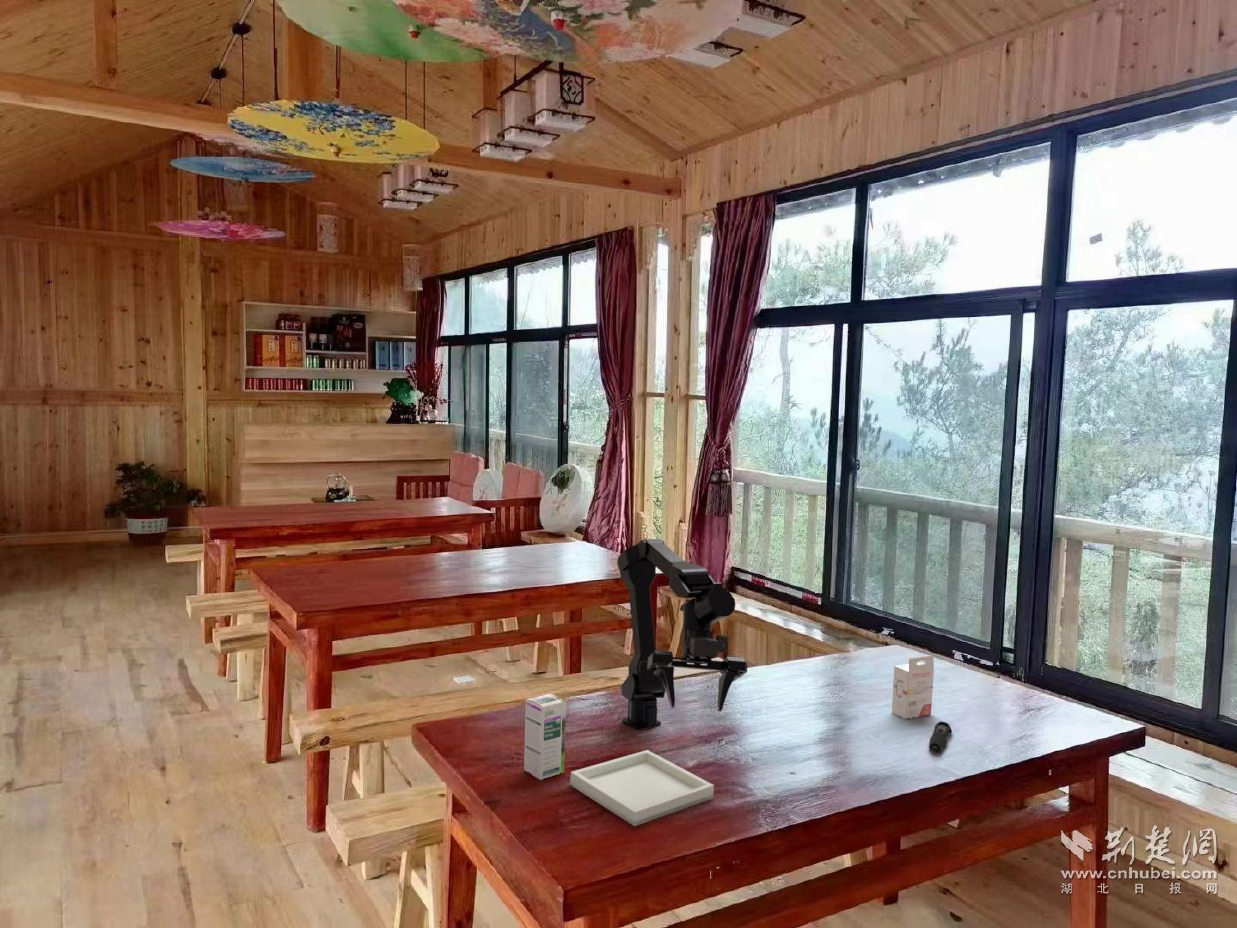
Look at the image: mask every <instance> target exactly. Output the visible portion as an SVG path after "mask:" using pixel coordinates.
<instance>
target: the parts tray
mask: <svg viewBox="0 0 1237 928" xmlns="http://www.w3.org/2000/svg"><path fill="white" fill-rule="evenodd" d="M569 781H570V782H569V786H571V785H572V786H571V787H573V788H574V789H575V790H577V791H579V792H580V793H582V794H583V795H585V796H586V797H589V798H590V799H592V800H593V801H595V802H596V803H598V804H599V805H601V806H603V807H604V808H606V809H607V810H608V811H610V812H611V813H613V814H614V815H616V816H618V817H620V818H621V819H623V820H624V821H625V822H627V823H628V824H630V825H631V826H633V827H636V826H640V825H642V824H645V823H647V822H648V823H649V822H651V821H653V820H657V819H659V818H662V817H664V816H668V815H671V814H673V813H676V812H679V811H681V810H684V809H687V808H690V807H693V806H695V805H698V804H701V803H704V802H707V801H709V800H712V799H714V792H715V791H714V789H715V785H714V784H713V783H711V782H709V781H707V780H705V779H703V778H701V777H699V776H697V775H695V774H694V773H691V772H690V771H689V770H686V769H684V768H682V767H680V766H678V765H677V764H675V763H673V762H671V761H669V760H668V759H665V758H663V757H662V756H660V755H657V754H656V753H653V752H652V751H650V750H649V749H646V750H642V751H639V752H635V753H632V754H628V755H625V756H621V757H618V758H615V759H611V760H608V761H604V762H601V763H598V764H594V765H589V766H586V767H584V768H580V769H576V770H573V771H571V772H570V779H569Z"/></svg>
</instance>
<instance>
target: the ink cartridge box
mask: <svg viewBox="0 0 1237 928" xmlns="http://www.w3.org/2000/svg"><path fill="white" fill-rule="evenodd" d="M934 658H935V657H934V655H927V656H918V657H912V658H909V659H908V663H907V664H899V665H894V667H893V683H892V686H893V687H892V703H891V713H892V714H894V715H896V716H898V717H901V718H902V717H904V718H903V719H905V720H908V719H907V718H910V719H913V718H912V717H915V718H920V717H925V715H926V716H930V715H932V705H933V704H932V703H933V690H934V689H933V688H934V677H935V676H934V674H935V668H934V662H935V661H934ZM921 661H922V662H925V663H921ZM929 714H930V715H929Z"/></svg>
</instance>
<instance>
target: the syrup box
mask: <svg viewBox="0 0 1237 928" xmlns="http://www.w3.org/2000/svg"><path fill="white" fill-rule="evenodd" d="M566 713H567V701H566V700H565V699H563V698H561V697H559V696H558V695H555V694H552V693H547V694H544V695H539V696H535V697H531V698H527V699H525V716H524V717H525V721H524V722H525V723H524V762H523V765H524V766H523V769H524V771H525V772H527V773H528V772H529V773H528V774H530V773H531V774H532V775H531V774H530V775H531V776H534V777H535V778H536V779H537V780H539V781H543V780H544V779H547V778H550V777H553V776H556V775H561V774H564V773H565V754H566V753H565V750H566V747H565V746H566V721H567V719H566V718H567V715H566ZM560 773H561V774H560Z"/></svg>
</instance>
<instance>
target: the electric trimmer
mask: <svg viewBox="0 0 1237 928" xmlns="http://www.w3.org/2000/svg"><path fill="white" fill-rule="evenodd" d="M949 733H950V734H949ZM952 733H953V730H952V727H951V726H950V723H948V722H945V721H939V722H937V723H935V725H934V730H933V733H932V734H931V737H930V739H929V744H928V749H929V750H930V751H935V752H939V753H940V752H942V751H943V749H944V748H945V747H947V745H948V736H949V735H952Z"/></svg>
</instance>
